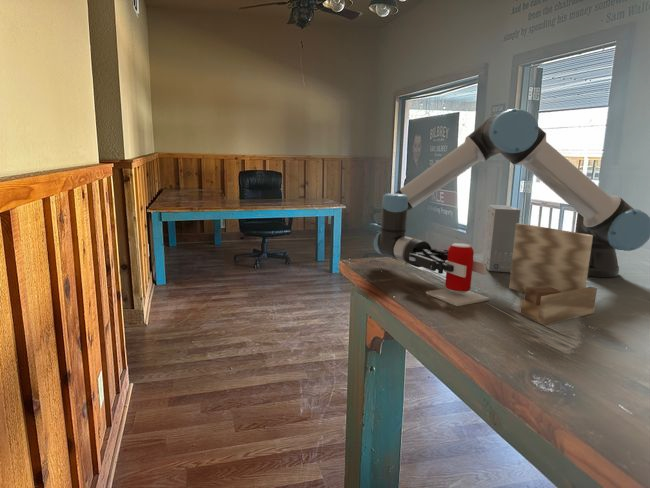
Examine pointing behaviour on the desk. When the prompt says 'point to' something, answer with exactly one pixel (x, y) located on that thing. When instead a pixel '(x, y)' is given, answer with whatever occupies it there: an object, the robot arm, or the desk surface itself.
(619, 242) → the robot arm
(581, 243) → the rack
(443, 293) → the felt pad
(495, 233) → the hard drive box
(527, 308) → the offcut lower
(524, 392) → the desk surface
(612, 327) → the desk surface
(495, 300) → the desk surface
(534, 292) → the offcut upper
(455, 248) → the beverage can
